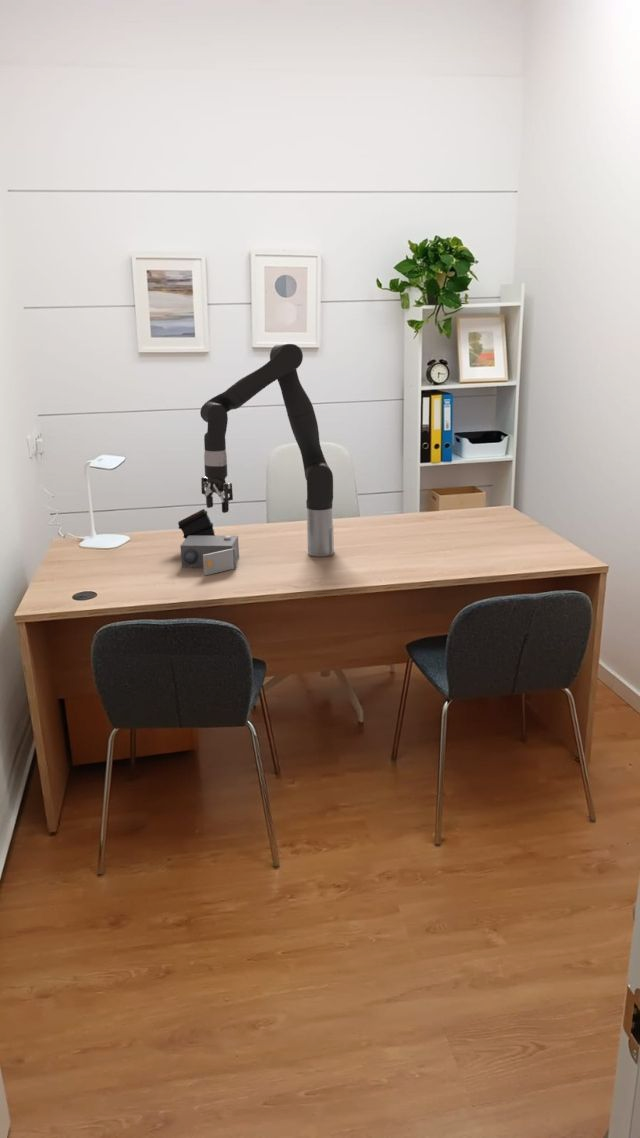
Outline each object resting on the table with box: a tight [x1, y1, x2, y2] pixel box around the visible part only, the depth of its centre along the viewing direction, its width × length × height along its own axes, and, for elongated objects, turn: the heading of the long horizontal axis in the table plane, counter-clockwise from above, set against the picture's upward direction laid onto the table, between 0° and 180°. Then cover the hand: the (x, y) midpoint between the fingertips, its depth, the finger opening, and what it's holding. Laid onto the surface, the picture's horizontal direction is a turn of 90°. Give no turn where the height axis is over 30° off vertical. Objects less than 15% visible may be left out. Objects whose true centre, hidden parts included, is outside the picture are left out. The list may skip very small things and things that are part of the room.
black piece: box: [177, 508, 216, 540], centre depth 316 cm, size 4×13×15 cm, turn 93°
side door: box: [203, 548, 237, 576], centre depth 291 cm, size 12×2×7 cm, turn 124°
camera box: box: [180, 535, 240, 569], centre depth 301 cm, size 18×14×9 cm
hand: (217, 509), depth 290 cm, fingers open, 8 cm apart
